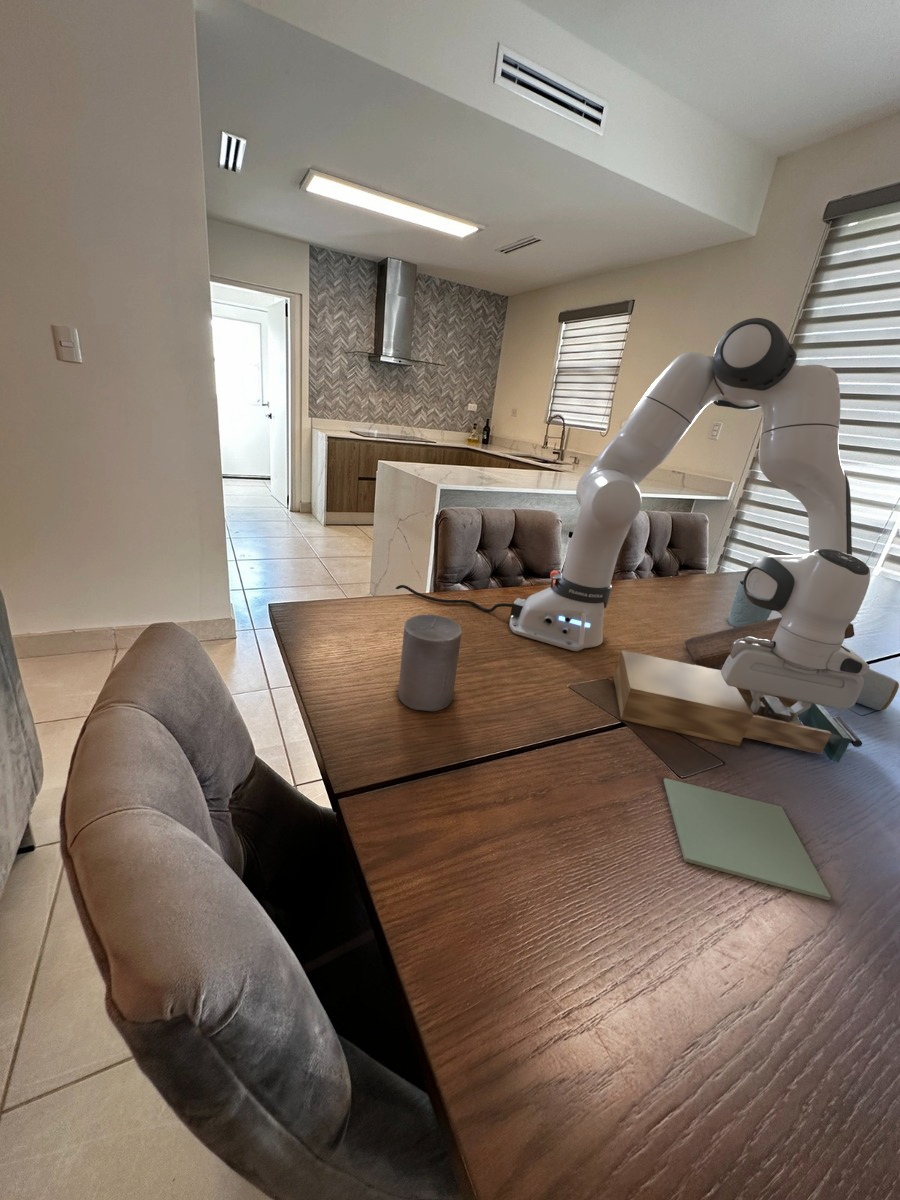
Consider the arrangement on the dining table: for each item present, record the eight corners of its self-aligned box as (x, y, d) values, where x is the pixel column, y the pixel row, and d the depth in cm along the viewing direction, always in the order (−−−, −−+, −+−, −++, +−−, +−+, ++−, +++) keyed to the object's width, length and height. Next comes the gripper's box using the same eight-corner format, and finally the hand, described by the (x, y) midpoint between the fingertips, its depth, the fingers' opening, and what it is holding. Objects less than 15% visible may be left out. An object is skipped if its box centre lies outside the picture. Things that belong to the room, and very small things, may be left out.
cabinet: (715, 699, 93) (726, 671, 91) (739, 746, 80) (753, 714, 77) (613, 678, 96) (621, 649, 94) (620, 719, 83) (630, 688, 81)
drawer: (825, 720, 89) (836, 699, 87) (866, 768, 77) (880, 745, 75) (699, 693, 93) (707, 673, 91) (719, 735, 81) (729, 712, 79)
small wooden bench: (709, 716, 108) (864, 688, 98) (694, 658, 103) (855, 623, 94) (697, 692, 117) (837, 664, 108) (683, 638, 113) (828, 604, 103)
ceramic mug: (884, 718, 94) (902, 685, 91) (834, 699, 99) (850, 667, 96) (883, 699, 101) (901, 669, 99) (837, 683, 106) (852, 653, 103)
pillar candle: (427, 675, 89) (435, 603, 83) (464, 700, 83) (475, 624, 77) (386, 692, 83) (392, 614, 77) (422, 720, 76) (432, 638, 71)
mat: (684, 861, 57) (685, 858, 57) (663, 780, 70) (664, 777, 70) (829, 901, 54) (831, 897, 54) (780, 809, 67) (781, 806, 67)
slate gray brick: (767, 729, 82) (775, 712, 81) (755, 710, 87) (762, 694, 86) (783, 733, 82) (792, 716, 80) (770, 713, 87) (777, 697, 86)
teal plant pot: (765, 625, 134) (781, 586, 129) (765, 637, 126) (782, 596, 121) (725, 614, 138) (740, 576, 134) (723, 625, 130) (738, 585, 126)
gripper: (742, 642, 78) (715, 711, 83) (881, 669, 74) (843, 739, 80) (731, 627, 83) (705, 692, 89) (859, 651, 80) (825, 717, 85)
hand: (771, 715), depth 84 cm, fingers open, 4 cm apart
